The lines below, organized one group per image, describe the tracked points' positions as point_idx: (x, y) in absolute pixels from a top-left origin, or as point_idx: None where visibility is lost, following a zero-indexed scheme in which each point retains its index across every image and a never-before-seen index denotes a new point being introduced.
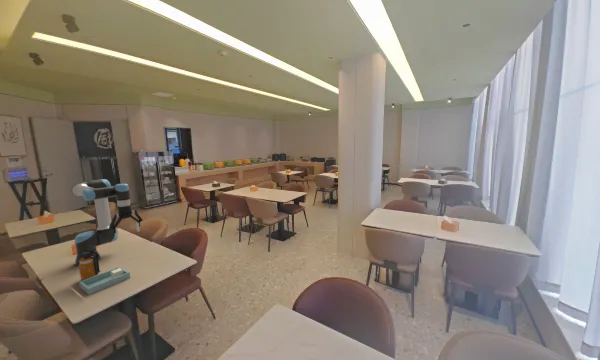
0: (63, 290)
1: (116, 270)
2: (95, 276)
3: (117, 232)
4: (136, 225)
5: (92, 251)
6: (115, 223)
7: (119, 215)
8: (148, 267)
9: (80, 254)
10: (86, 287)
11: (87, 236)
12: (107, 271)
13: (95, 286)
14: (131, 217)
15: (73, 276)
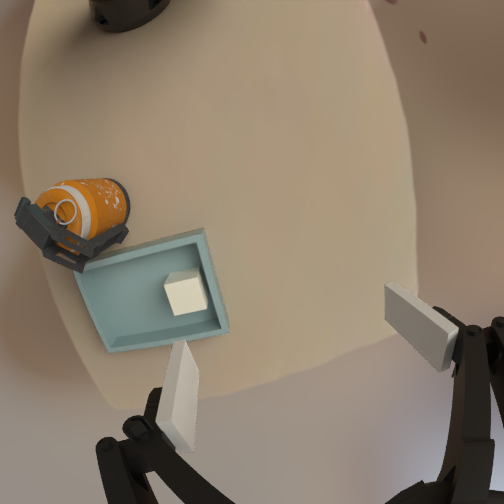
0: None
1: (185, 295)
2: (114, 262)
3: (194, 411)
4: (423, 322)
5: (56, 240)
6: (176, 493)
7: None
8: (304, 269)
9: (17, 220)
10: (101, 338)
11: None
12: (153, 249)
13: (125, 350)
14: (440, 474)
15: (67, 122)
